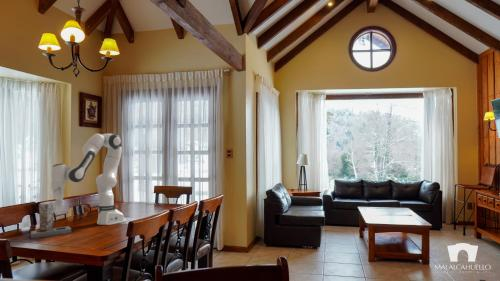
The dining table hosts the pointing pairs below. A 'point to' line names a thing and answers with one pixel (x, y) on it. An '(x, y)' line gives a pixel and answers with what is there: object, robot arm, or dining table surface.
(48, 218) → the stone block
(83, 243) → the dining table surface
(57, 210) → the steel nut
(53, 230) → the grey flat slab
